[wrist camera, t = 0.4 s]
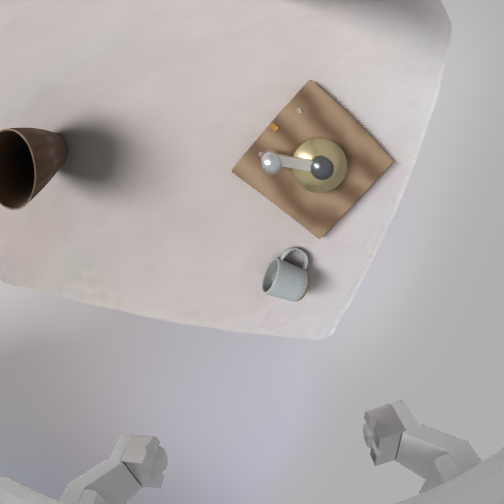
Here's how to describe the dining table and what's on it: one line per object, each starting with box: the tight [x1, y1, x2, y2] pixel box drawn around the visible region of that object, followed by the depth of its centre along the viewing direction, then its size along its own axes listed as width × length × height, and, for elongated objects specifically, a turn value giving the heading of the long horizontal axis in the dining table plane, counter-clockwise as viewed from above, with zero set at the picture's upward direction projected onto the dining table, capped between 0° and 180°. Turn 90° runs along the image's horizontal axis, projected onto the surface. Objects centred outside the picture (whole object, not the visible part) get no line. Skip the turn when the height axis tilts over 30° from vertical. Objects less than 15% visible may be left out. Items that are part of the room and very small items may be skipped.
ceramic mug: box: [262, 247, 310, 301], centre depth 61 cm, size 11×8×8 cm
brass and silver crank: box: [261, 137, 347, 193], centre depth 47 cm, size 10×16×8 cm, turn 81°
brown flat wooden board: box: [232, 80, 393, 239], centre depth 51 cm, size 22×22×2 cm
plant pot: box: [0, 128, 67, 210], centre depth 42 cm, size 15×15×16 cm
